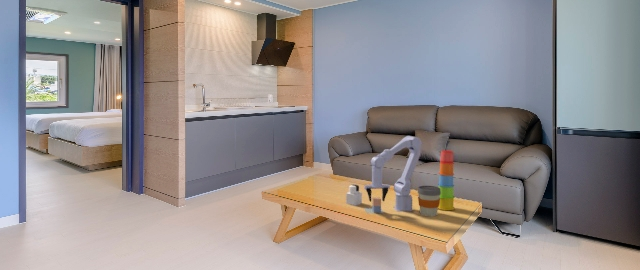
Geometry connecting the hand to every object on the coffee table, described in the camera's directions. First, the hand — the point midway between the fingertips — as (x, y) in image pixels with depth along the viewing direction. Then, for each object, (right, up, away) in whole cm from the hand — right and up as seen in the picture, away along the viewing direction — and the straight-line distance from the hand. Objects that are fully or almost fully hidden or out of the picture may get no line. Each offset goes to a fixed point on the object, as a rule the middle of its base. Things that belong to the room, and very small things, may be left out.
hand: (376, 200), depth 210 cm
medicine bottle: (-12, -5, +18) cm, 22 cm away
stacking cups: (+42, -6, +8) cm, 44 cm away
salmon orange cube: (0, -2, 0) cm, 3 cm away
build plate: (-1, -7, +4) cm, 8 cm away
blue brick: (0, -6, +1) cm, 7 cm away
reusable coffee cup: (+29, -7, -2) cm, 30 cm away
